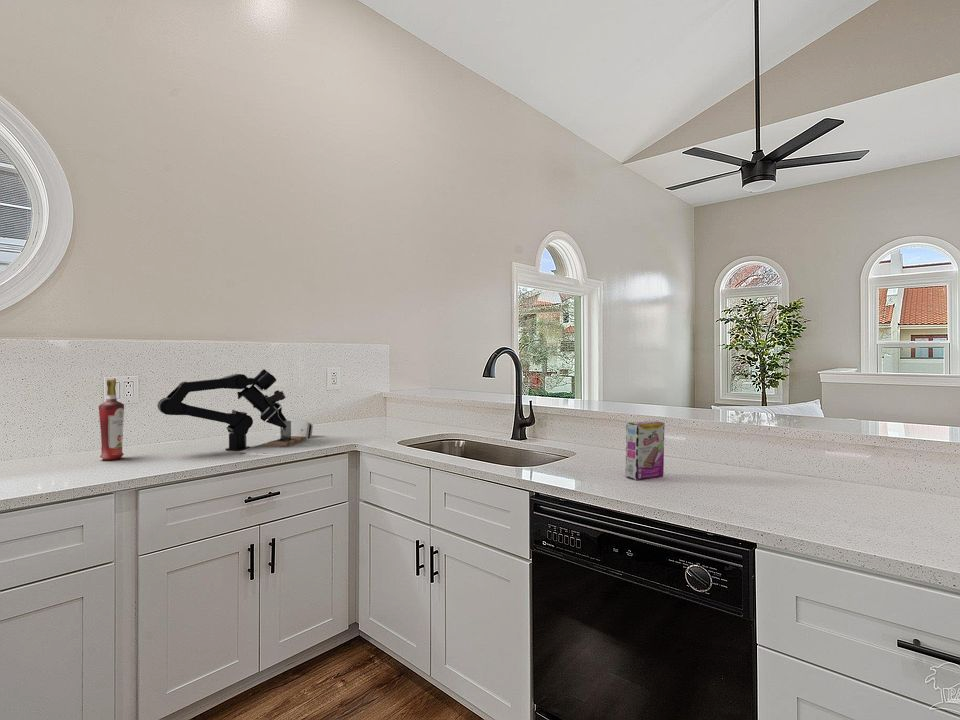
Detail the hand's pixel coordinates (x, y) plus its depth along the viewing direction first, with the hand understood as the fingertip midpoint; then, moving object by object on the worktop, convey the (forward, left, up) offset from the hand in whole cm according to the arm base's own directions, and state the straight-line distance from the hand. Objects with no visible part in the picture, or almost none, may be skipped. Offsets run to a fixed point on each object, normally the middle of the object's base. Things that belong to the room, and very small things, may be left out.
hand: (287, 425), depth 209 cm
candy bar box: (-33, -133, -8) cm, 137 cm away
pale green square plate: (+1, -11, -8) cm, 13 cm away
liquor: (-33, +47, -8) cm, 59 cm away
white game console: (+16, +6, -8) cm, 19 cm away
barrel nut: (0, 0, -8) cm, 8 cm away
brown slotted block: (+1, 0, -8) cm, 8 cm away
